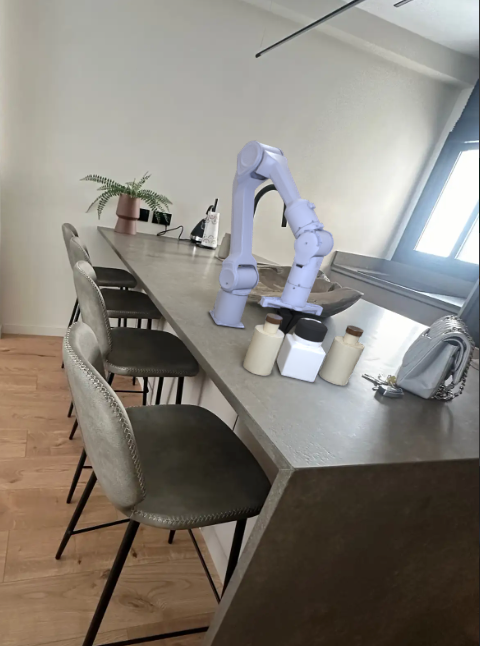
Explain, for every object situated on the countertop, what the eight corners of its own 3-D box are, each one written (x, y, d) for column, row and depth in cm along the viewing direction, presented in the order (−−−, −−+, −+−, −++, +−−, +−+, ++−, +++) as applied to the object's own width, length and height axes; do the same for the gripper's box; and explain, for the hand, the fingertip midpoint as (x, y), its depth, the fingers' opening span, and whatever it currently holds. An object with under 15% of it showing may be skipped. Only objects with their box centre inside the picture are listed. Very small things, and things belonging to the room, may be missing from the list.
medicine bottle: (314, 383, 78) (336, 332, 73) (280, 375, 79) (300, 324, 73) (307, 368, 84) (326, 319, 79) (275, 360, 85) (293, 312, 80)
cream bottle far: (314, 369, 84) (335, 320, 79) (338, 372, 85) (360, 324, 80) (327, 383, 79) (350, 332, 74) (352, 387, 80) (377, 336, 75)
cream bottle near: (239, 359, 82) (255, 308, 77) (264, 363, 83) (282, 312, 78) (247, 373, 76) (266, 320, 71) (274, 377, 77) (294, 324, 72)
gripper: (276, 284, 80) (256, 340, 85) (337, 294, 82) (314, 348, 87) (264, 275, 86) (247, 328, 92) (322, 284, 88) (301, 336, 94)
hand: (279, 337), depth 90 cm, fingers closed
